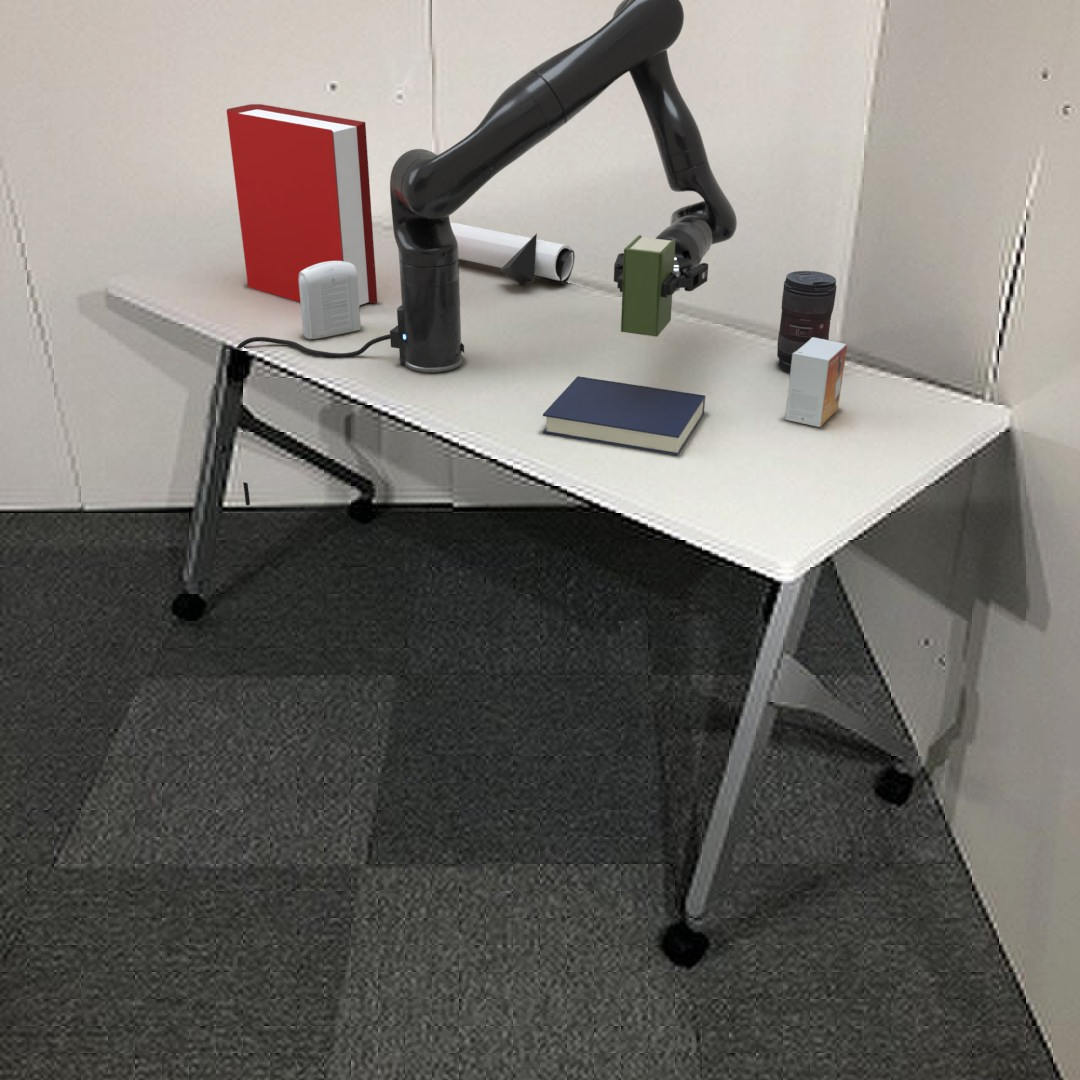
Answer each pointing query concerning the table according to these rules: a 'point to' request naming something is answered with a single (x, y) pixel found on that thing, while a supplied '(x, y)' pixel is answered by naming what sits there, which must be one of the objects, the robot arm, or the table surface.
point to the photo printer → (329, 299)
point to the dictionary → (646, 285)
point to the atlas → (625, 415)
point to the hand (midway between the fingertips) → (643, 288)
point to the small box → (815, 381)
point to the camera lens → (804, 312)
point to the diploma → (515, 254)
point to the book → (301, 196)
